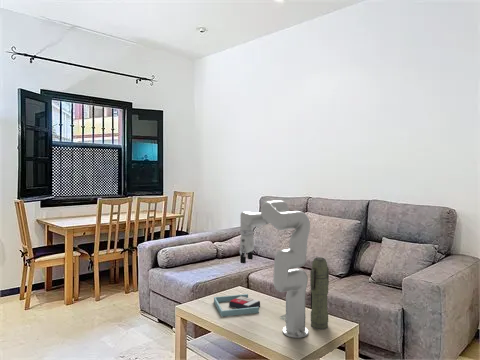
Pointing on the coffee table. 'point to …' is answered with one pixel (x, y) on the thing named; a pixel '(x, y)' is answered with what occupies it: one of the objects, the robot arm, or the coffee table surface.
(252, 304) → the calculator
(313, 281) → the thermos
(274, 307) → the coffee table surface
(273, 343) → the coffee table surface
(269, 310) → the coffee table surface
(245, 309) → the teal u-shaped piece
